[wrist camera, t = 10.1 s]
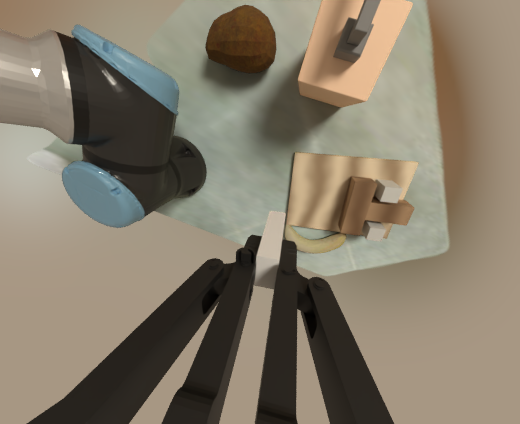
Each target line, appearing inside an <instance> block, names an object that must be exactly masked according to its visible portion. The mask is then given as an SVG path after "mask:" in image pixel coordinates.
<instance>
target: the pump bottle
mask: <svg viewBox="0 0 520 424" xmlns="http://www.w3.org/2000/svg"><path fill="white" fill-rule="evenodd" d="M412 6H413V3H412V2H408V1H405V0H322V1H321V5H320V8H319V11H318V15H317V18H316V21H315V24H314V28H313V31H312V34H311V37H310V41H309V44H308V47H307V50H306V54H305V57H304V60H303V63H302V67H301V70H300V73H299V76H298V84H299V91H300V95H302V96H305V97H308V98H312V99H315V100H318V101H321V102H325V103H328V104H331V105H334V106H337V107H345V106H349V105H353V104H357V103H361V102H365V101H367V100H368V98H369V96H370V93H371V91H372V89H373V87H374V85H375V83H376V81H377V79H378V77H379V75H380V73H381V70H382V68H383V66H384V64H385V62H386V60H387V58H388V56H389V54H390V52H391V50H392V48H393V45H394V43H395V41H396V39H397V37H398V35H399V33H400V31H401V29H402V27H403V25H404V23H405V20H406V18H407V16H408V14H409V12H410V10H411V8H412Z"/></svg>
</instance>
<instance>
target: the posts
mask: <svg viewBox="0 0 520 424" xmlns="http://www.w3.org/2000/svg"><path fill="white" fill-rule="evenodd" d="M376 183H377V187H376V190H375V193H374V195H375V196H376V197H377V198H378V200H379V201H381V202H390V203H397V202H398V200H399V197H400V195H401V192H402V190H403V188H402V187H400V186H399V185H397V184H396V183H395V182H393V181H391V180H380V179H376ZM385 231H386V229H385V228H384V226H383V225H382V223H381V222H377V221H369V220H365V221H364V224H363V227H362V232H363V234H364V236H365V238H366V239H367V240H374V241H382V238H383V236H384V234H385Z"/></svg>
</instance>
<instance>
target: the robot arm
mask: <svg viewBox="0 0 520 424" xmlns="http://www.w3.org/2000/svg"><path fill="white" fill-rule="evenodd" d="M72 35H73V36H74V38H71V37H69V36H66V35H64V34H61V33H58V32H56V31H53V30H51V29H48V30H46V31H44V32H42V33H40V34H38V35H36V36H34V37H32V38H27V37H22V36H19V35H16V34H13V33H11V32H8V31H4V30H2V29H0V123H7V124H16V125H23V126H31V127H39V128H44V129H46V130H48V131H50V132H52V133H53V134H54V135H56V136H57V137H58V138H60V139H61V140H62V141H64V142H65V143H67V144H78V145H82V150H83V160H82V161H74V162H72V163H71V164H70V165H68V167H65V168H64V170H63V172H62V181H63V184H64V187H65V189H66V191H67V193H68V195H69V196H70V198H71V199H72V200H73V202H74V203H75V204H76V205H77V206H78V207H79V208H80V209H81V210H82V211H83V212H84V213H85V214H87V215H88V216H89V217H91V218H92V219H94V220H95V221H97V222H99V223H101V224H104V225H106V226H110V227H116V228H119V227H120V228H121V227H126V226H128V225H130V224H132V223H134V222H136V221H140V220H141V219H143V218H144V217H145V216H146V215H148V214H150V213H151V212H152V211H154V210H156V209H157V208H159V207H160V206H162V205H164V204H165V203H167V202H168V201H170V200H171V199H173V198H181V197H188V196H190V195H193V194H194V193H196V192H197V191H199V190H200V189H201V188H202V186H203V185H204V183H205V180H206V165H205V162H204V159H203V157H202V155H201V153H200V152H199V150H198V149H197V148H196V147H195V146H194V145H193V144H192V143H191V142H189V141H188V140H186V139H184V138H182V137H179V136H173V134H174V128H175V122H176V117H177V115H178V111H177V108H178V99H179V87H178V85H177V83H176V81H175V80H174V79H173V78H172V77H171V76H169V75H168V74H166V73H165V72H163V71H161V70H160V69H158V68H156V67H155V66H153V65H151V64H149V63H147V62H146V61H144V60H142V59H140V58H139V57H137V56H135V55H133V54H132V53H130V52H128V51H127V50H125V49H123V48H121V47H119V46H118V45H116V44H114V43H112V42H110V41H109V40H107V39H105V38H103V37H101V36H99V35H98V34H95V33H93V32H92V31H90V30H88V29H87V28H84V27H83V26H81V25H75V26H74V30H72ZM285 215H286V213H282V212H276V211H270V212H269V216H268V219H267V222H266V226H265V229H264V232H263V236H256V235H251V236H250V237H249V238H248V239H247V242H246V244H245V247H244V248H240V249H238V250H237V252H236V262H234V263H230V264H224V263H223V261H221V260H220V259H216V258H215V259H210V260H207V261H206V262H205V263H204V264H203V265H202V266H201V267H200V268H199V269H198V270H197V271H195V272H194V274H192V276H190V277H189V279H187V280H186V281H185V282H184V283H183V284H182V285H181V286H180V287H179V288H178V289H177V290H176V291H175V292H174V293H173V294H172V295H171V296H170V297H168V298H167V299H166V300H165V301H164V302H163V303H162V304H161V305H160V306H159V307H158V308H157V309H156V310H155V311H154V312H153V313H152V314H151V315H150V316H149V317H148V318H147V319H146V320H145V321H144V322H143V323H141V324H140V326H138V327H137V328H136V329H135V330H134V331H133V332H132V333H131V334H130V335H129V336H128V337H127V338H126V339H125V340H124V341H123V342H122V343H121V344H120V345H119V346H118V347H117V348H116V349H114V350H113V352H112V353H110V354H109V355H108V356H107V357H106V358H105V359H104V360H103V361H102V362H101V363H100V364H99V365H98V366H97V367H96V368H95V369H94V370H93V371H92V372H91V373H90V374H89V375H88V376H87V377H86V378H84V379H83V380H82V381H81V382H80V383H79V384H78V385H77V386H76V387H75V388H74V389H73V390H72V391H71V392H70V393H69V394H68V395H67V396H66V397H65V398H64V399H62V400H61V401H59V402H58V403H57V404H55V405H54V406H52V407H50V408H49V409H48V410H46V411H45V412H43V413H42V414H40V415H39V416H37V417H36V418H34V419H33V420H32V421H30V422H29V423H27V424H129V423H130V421H131V420H132V419H133V417H134V416H135V415H136V413H137V412H138V410H139V409H140V408H141V406H142V405H143V404H144V402H145V401H146V400H147V398H148V397H149V395H150V394H151V393H152V392H153V390H154V389H155V387H156V386H157V385H158V383H159V382H160V381H161V379H162V378H163V377H164V375H165V374H166V373H167V371H168V370H169V368H170V367H171V366H172V364H173V363H174V362H175V360H176V359H177V358H178V356H179V355H180V353H181V352H182V351H183V349H184V348H185V347H186V345H187V344H188V343H189V341H190V340H191V339H192V337H193V336H194V335H195V333H196V332H197V331H198V329H199V328H200V326H201V325H202V324H203V322H204V321H205V320H206V318H207V317H208V316H209V314H210V313H211V312H212V310H213V309H214V308H215V306H216V305H217V303H218V302H219V303H218V305H217V307H216V310H215V312H214V315H213V317H212V319H211V322H210V324H209V326H208V329H207V331H206V333H205V336H204V338H203V340H202V343H201V345H200V347H199V350H198V352H197V354H196V357H195V359H194V361H193V364H192V366H191V369H190V371H189V373H188V376H187V378H186V380H185V382H184V384H183V386H182V387H181V388H180V389H179V390H178V391H177V392H176V394H175V395H174V397H173V399H172V402H171V403H170V406H169V408H168V410H167V412H166V415H165V417H164V419H163V422H162V424H219V421H220V417H221V413H222V409H223V405H224V401H225V397H226V393H227V390H228V386H229V381H230V378H231V374H232V370H233V366H234V362H235V359H236V355H237V351H238V347H239V343H240V339H241V335H242V331H243V327H244V324H245V319H246V316H247V312H248V308H249V304H250V300H251V296H252V292H253V285H255V286H261V287H265V288H270V289H274V295H273V301H272V308H271V315H270V322H269V330H268V336H267V343H266V350H265V357H264V364H263V371H262V378H261V385H260V391H259V399H258V405H257V412H256V419H255V424H298V423H297V419H296V370H297V368H296V367H297V365H296V364H297V309H298V310H300V311H301V315H302V318H303V322H304V326H305V330H306V333H307V338H308V341H309V345H310V349H311V353H312V356H313V360H314V364H315V367H316V371H317V376H318V379H319V383H320V387H321V391H322V395H323V398H324V402H325V406H326V410H327V413H328V418H329V421H330V424H394V422H393V420H392V418H391V416H390V414H389V412H388V410H387V407H386V405H385V403H384V401H383V399H382V397H381V395H380V393H379V391H378V388H377V386H376V384H375V382H374V380H373V377H372V375H371V373H370V371H369V369H368V367H367V365H366V362H365V360H364V358H363V356H362V354H361V352H360V350H359V348H358V345H357V343H356V341H355V339H354V337H353V335H352V332H351V330H350V328H349V326H348V324H347V322H346V320H345V317H344V315H343V313H342V311H341V309H340V307H339V305H338V303H337V300H336V298H335V296H334V294H333V292H332V290H331V288H330V285H329V284H328V282H326V281H325V280H324V279H322V278H319V277H312V278H311V279H307V278H305V277H303V276H302V275H300V274H299V273H298V271H297V268H296V263H297V245H296V244H295V242H294V241H289V240H283V239H282V238H283V230H284V223H285Z"/></svg>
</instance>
